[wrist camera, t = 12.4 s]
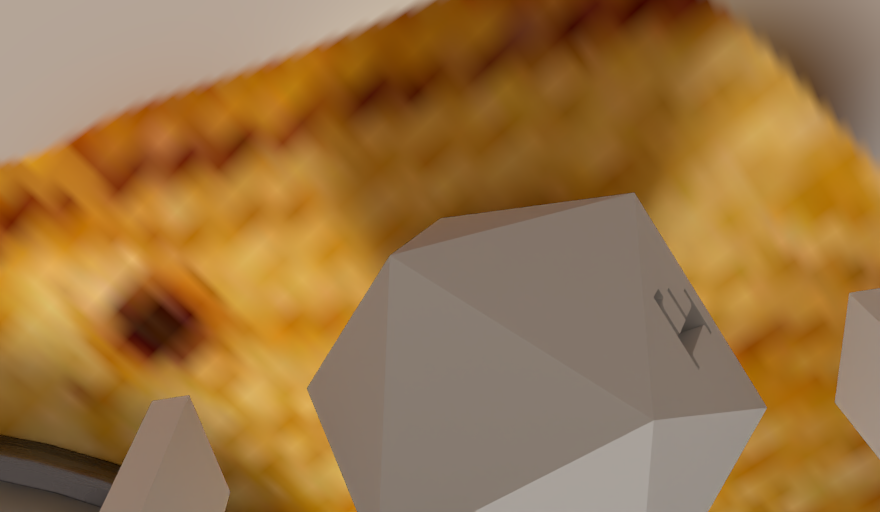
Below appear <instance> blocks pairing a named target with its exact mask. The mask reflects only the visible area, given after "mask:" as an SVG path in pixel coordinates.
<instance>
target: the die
mask: <svg viewBox="0 0 880 512" xmlns="http://www.w3.org/2000/svg"><path fill="white" fill-rule="evenodd" d="M307 390H308V392H309V395H310V397H311V400H312V402H313V405H314V407H315V409H316V412H317V414H318V417H319V419H320V422H321V424H322V427H323V429H324V431H325V434H326V436H327V439H328V441H329V444H330V446H331V448H332V451H333V453H334V456H335V458H336V461H337V463H338V466H339V468H340V470H341V473H342V475H343V478H344V480H345V483H346V485H347V488H348V490H349V492H350V495H351V497H352V500H353V502H354V505H355V507H356V510H357V512H708V511H709V509H710V507H711V506H712V504H713V502H714V500H715V498H716V497H717V495H718V493H719V491H720V490H721V488H722V486H723V484H724V483H725V481H726V479H727V477H728V476H729V474H730V472H731V470H732V469H733V467H734V465H735V463H736V462H737V460H738V458H739V456H740V454H741V453H742V451H743V449H744V447H745V446H746V444H747V442H748V440H749V439H750V437H751V435H752V433H753V432H754V430H755V428H756V426H757V425H758V423H759V421H760V419H761V418H762V416H763V414H764V412H765V410H766V409H767V407H766V405H765V403H764V402H763V400H762V399H761V397H760V395H759V394H758V392H757V390H756V389H755V387H754V386H753V384H752V382H751V381H750V379H749V378H748V376H747V374H746V373H745V371H744V369H743V368H742V366H741V365H740V363H739V361H738V360H737V358H736V356H735V355H734V353H733V352H732V350H731V348H730V347H729V345H728V343H727V342H726V340H725V339H724V337H723V335H722V334H721V332H720V331H719V329H718V327H717V326H716V324H715V322H714V321H713V319H712V318H711V316H710V314H709V313H708V311H707V309H706V308H705V306H704V305H703V303H702V301H701V300H700V298H699V296H698V295H697V293H696V292H695V290H694V288H693V287H692V285H691V284H690V282H689V280H688V279H687V277H686V275H685V274H684V272H683V271H682V269H681V267H680V266H679V264H678V262H677V261H676V259H675V258H674V256H673V254H672V253H671V251H670V249H669V248H668V246H667V245H666V243H665V241H664V240H663V238H662V236H661V235H660V233H659V232H658V230H657V228H656V227H655V225H654V224H653V222H652V220H651V219H650V217H649V215H648V214H647V212H646V211H645V209H644V207H643V206H642V204H641V202H640V201H639V199H638V198H637V196H636V194H635V193H627V194H620V195H612V196H605V197H597V198H589V199H582V200H574V201H567V202H559V203H552V204H544V205H537V206H529V207H522V208H514V209H506V210H499V211H491V212H484V213H476V214H469V215H461V216H454V217H446V218H440V219H439V220H437V221H436V222H435V223H433V224H432V225H431V226H429V227H428V228H427V229H425V230H424V231H422V232H421V233H420V234H418V235H417V236H416V237H414V238H413V239H412V240H410V241H409V242H407V243H406V244H405V245H403V246H402V247H401V248H399V249H398V250H397V251H395V252H394V253H392V254H391V255H390V256H389V258H388V259H387V261H386V262H385V264H384V266H383V267H382V269H381V270H380V272H379V274H378V275H377V277H376V278H375V280H374V282H373V283H372V285H371V286H370V288H369V290H368V291H367V293H366V294H365V296H364V298H363V299H362V301H361V302H360V304H359V306H358V307H357V309H356V310H355V312H354V314H353V315H352V317H351V318H350V320H349V322H348V323H347V325H346V326H345V328H344V330H343V331H342V333H341V334H340V336H339V338H338V339H337V341H336V342H335V344H334V346H333V347H332V349H331V350H330V352H329V354H328V355H327V357H326V358H325V360H324V362H323V363H322V365H321V366H320V368H319V370H318V371H317V373H316V374H315V376H314V378H313V379H312V381H311V382H310V384H309V386H308V387H307Z"/></svg>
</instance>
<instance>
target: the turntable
mask: <svg viewBox="0 0 880 512" xmlns="http://www.w3.org/2000/svg"><path fill="white" fill-rule="evenodd" d="M100 509H101V507H98V506H94V505H91V504H88V503H85V502H82V501H79V500H76V499H72V498H69V497H66V496H63V495H60V494H57V493H52V492H48V491H43V490H39V489H35V488H30V487H26V486H21V485H17V484H12V483H8V482H3V481H0V512H99V511H100Z"/></svg>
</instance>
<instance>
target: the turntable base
mask: <svg viewBox="0 0 880 512" xmlns="http://www.w3.org/2000/svg"><path fill="white" fill-rule="evenodd" d="M120 467H121V466H118V465H116V464H113V463H110V462H107V461H103V460H100V459H96V458H93V457H89V456H86V455H82V454H79V453H75V452H72V451H69V450H65V449H62V448H58V447H55V446H51V445H48V444H43V443H37V442H32V441H27V440H22V439H17V438H12V437H6V436H1V435H0V481H3V482H8V483H12V484H17V485H21V486H26V487H30V488H35V489H39V490H43V491H48V492H52V493H57V494H60V495H63V496H66V497H69V498H72V499H76V500H79V501H82V502H85V503H88V504H91V505H94V506H98V507H102V505H103V503H104V501H105V499H106V497H107V495H108V493H109V491H110V488H111V486H112V484H113V482H114V480H115V478H116V476H117V474H118V472H119V470H120Z"/></svg>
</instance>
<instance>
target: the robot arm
mask: <svg viewBox="0 0 880 512" xmlns="http://www.w3.org/2000/svg"><path fill="white" fill-rule="evenodd" d="M835 403H836V404H837V406H838V407H839V408H840V410H841V411H842V412H843V413H844V415H845V416H846V417H847V418H848V420H849V421H850V422H851V424H852V425H853V426H854V427H855V429H856V430H857V431H858V432H859V434H860V435H861V436H862V437H863V439H864V440H865V441H866V443H867V444H868V445H869V446H870V448H871V449H872V450H873V451H874V453H875V454H876V455H877V457H878V458H879V459H880V288H878V289H872V290H865V291H859V292H852V293H849V300H848V307H847V315H846V322H845V330H844V337H843V345H842V352H841V360H840V367H839V375H838V382H837V390H836V397H835ZM229 495H230V490H229V488H228V485H227V483H226V481H225V478H224V476H223V474H222V471H221V469H220V467H219V464H218V462H217V460H216V457H215V455H214V453H213V450H212V448H211V446H210V443H209V441H208V438H207V436H206V434H205V431H204V429H203V427H202V424H201V422H200V420H199V417H198V415H197V413H196V410H195V408H194V406H193V403H192V401H191V399H190V396H189V395H188V396H181V397H175V398H168V399H162V400H155V401H152V402H151V405H150V407H149V409H148V411H147V413H146V415H145V417H144V419H143V421H142V423H141V426H140V428H139V430H138V432H137V434H136V436H135V438H134V440H133V442H132V444H131V446H130V449H129V451H128V453H127V455H126V457H125V459H124V461H123V463H122V465H121V467H120V470H119V472H118V474H117V476H116V478H115V480H114V482H113V484H112V486H111V488H110V491H109V493H108V495H107V497H106V499H105V501H104V503H103V505H102V507H101V509H100V511H99V512H225V509H226V505H227V502H228V498H229Z"/></svg>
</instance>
